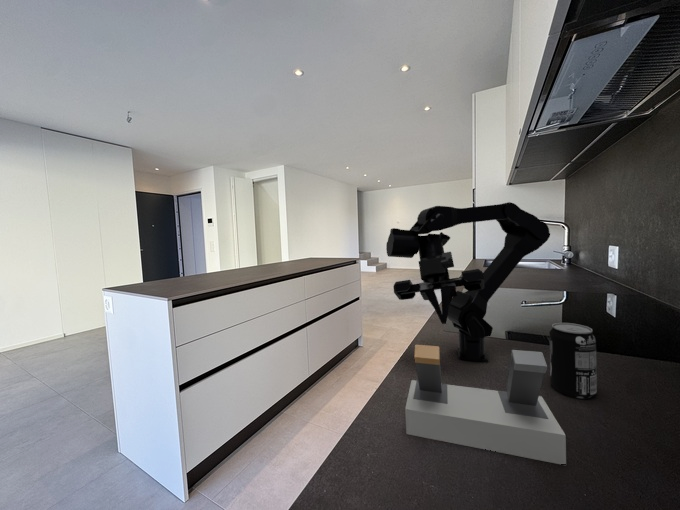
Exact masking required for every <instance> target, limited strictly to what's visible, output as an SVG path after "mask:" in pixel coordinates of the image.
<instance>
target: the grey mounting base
mask: <svg viewBox="0 0 680 510" xmlns="http://www.w3.org/2000/svg"><path fill="white" fill-rule="evenodd" d="M404 409H405V411H404V412H405V414H404V415H405V431H406V432H405V434H406V435H409V436H414V437H420V438H425V439H429V440H434V441H438V442H439V441H440V442H446V443H450V444H455V445H460V446H465V447H471V448H476V449H481V450H485V449H486V451H490V450H491V452H495V451H496V452H495V453H500V454H507V455H509V456H517V457H520V458H526V459H531V460H536V461H539V462H540V461H542V462H546V463H547V462H548V463H552V464H557V465H561V464H566V465H567V445H566V444H567V442H566V440H567V437H566V434H565V431H564V430H563V428H562V427H561V426H560V424H559V422H558V421H557V419H556V417H555V415H554V414H553V412H552V411H551V410H550V409H551V408H549V406H548V404H547V402H546V400H545V399H544V398H543V396H542V395H539V397H538V401H537V405H536V406H533V405H526V404H519V403H511V402H509V401H508V397H507V390H506V391H504V390H493V389H485V388H480V387H479V388H477V387H471V386H470V387H469V386H462V385H453V384H447V383H442V393H437V392H430V391H423V390H420V389H419V382H418V379H417V380H415V379H411V382H410V386H409V391H408V394H407V399H406V404H405V408H404Z"/></svg>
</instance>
